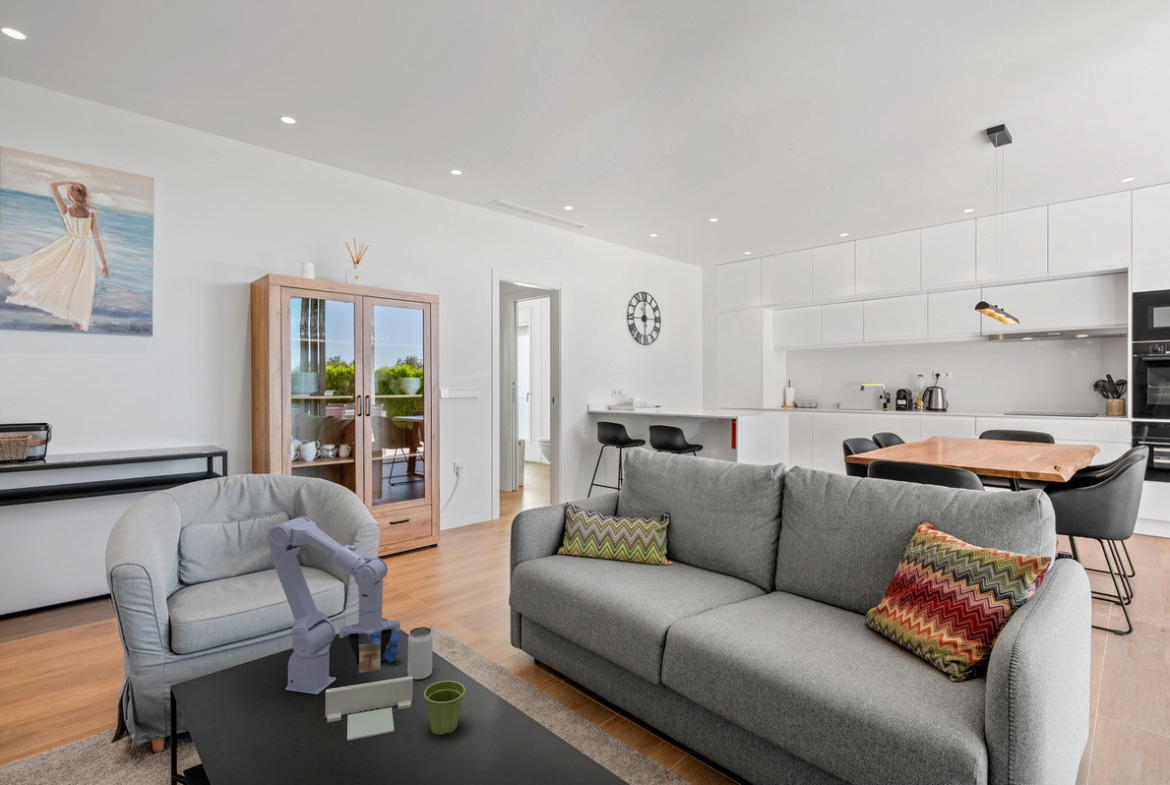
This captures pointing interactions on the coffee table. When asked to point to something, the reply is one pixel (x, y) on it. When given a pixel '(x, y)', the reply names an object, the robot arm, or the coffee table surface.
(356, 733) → the sage mat
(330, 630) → the robot arm
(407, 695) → the grey screen
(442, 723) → the plant pot
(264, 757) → the coffee table surface
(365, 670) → the maple cube
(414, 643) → the can
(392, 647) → the grapes
